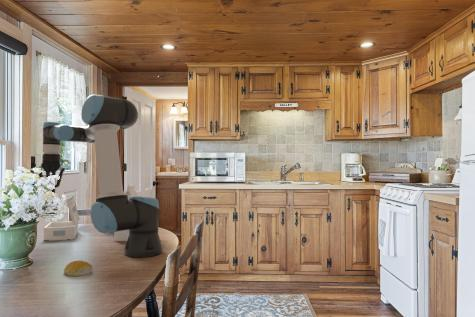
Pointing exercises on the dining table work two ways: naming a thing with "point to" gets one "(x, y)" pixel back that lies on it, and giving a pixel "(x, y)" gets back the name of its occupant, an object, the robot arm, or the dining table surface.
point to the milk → (124, 234)
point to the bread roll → (77, 268)
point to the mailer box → (60, 231)
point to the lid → (73, 210)
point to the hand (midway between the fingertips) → (50, 201)
